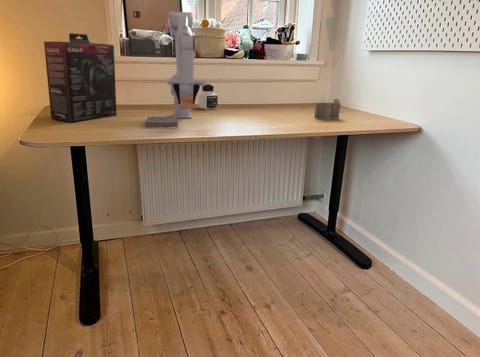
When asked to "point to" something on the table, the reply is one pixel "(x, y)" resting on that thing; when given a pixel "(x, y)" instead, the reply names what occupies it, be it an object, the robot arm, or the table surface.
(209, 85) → the medicine bottle
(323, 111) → the ruin model on sheet
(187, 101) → the cube
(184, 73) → the robot arm
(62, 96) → the headset box
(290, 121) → the table surface
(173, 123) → the base block
